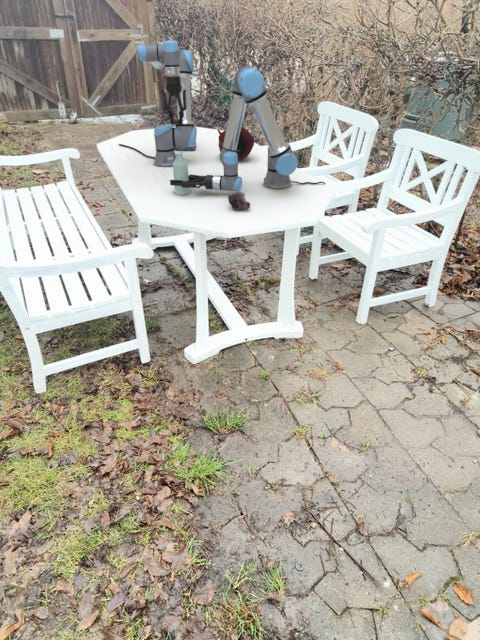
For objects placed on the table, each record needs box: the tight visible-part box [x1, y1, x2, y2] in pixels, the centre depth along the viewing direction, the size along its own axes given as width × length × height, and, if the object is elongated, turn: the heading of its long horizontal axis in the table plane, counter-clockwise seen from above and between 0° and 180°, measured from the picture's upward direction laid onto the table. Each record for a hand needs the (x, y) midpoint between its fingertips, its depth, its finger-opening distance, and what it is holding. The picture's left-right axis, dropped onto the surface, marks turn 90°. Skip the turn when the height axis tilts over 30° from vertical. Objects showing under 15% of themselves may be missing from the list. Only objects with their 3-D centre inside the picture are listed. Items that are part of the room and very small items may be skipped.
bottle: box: [172, 151, 191, 196], centre depth 241 cm, size 8×8×21 cm
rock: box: [227, 191, 251, 211], centre depth 224 cm, size 12×9×10 cm
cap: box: [172, 118, 180, 126], centre depth 245 cm, size 4×4×2 cm
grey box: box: [174, 142, 197, 151], centre depth 321 cm, size 17×18×20 cm
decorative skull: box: [217, 126, 255, 162], centre depth 297 cm, size 21×24×25 cm
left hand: (176, 123), depth 245 cm, fingers closed on cap, 4 cm apart
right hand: (173, 180), depth 244 cm, fingers closed on bottle, 8 cm apart
